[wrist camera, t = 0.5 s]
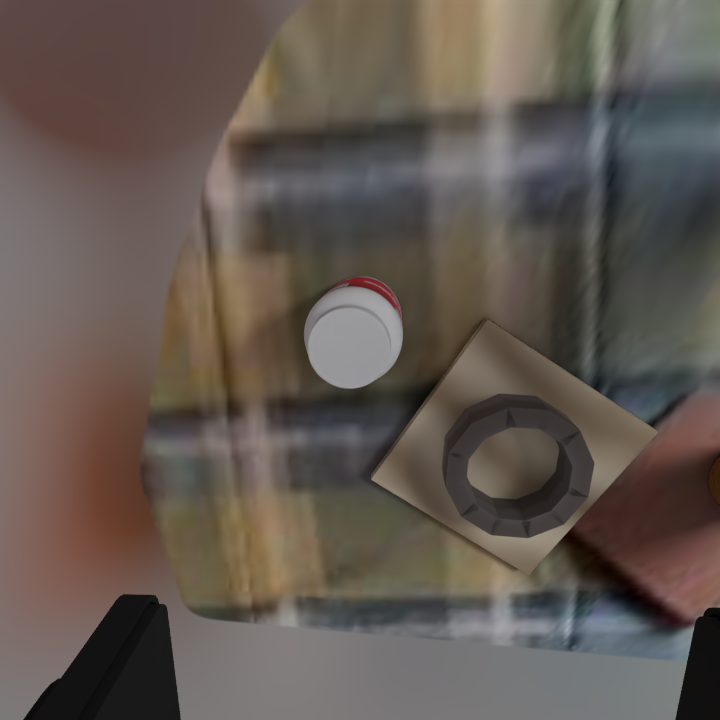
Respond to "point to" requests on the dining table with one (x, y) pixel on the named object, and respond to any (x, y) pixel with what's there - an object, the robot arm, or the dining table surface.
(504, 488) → the socket board
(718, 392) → the dining table surface
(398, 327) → the pill bottle
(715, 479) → the disposable coffee cup
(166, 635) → the robot arm
